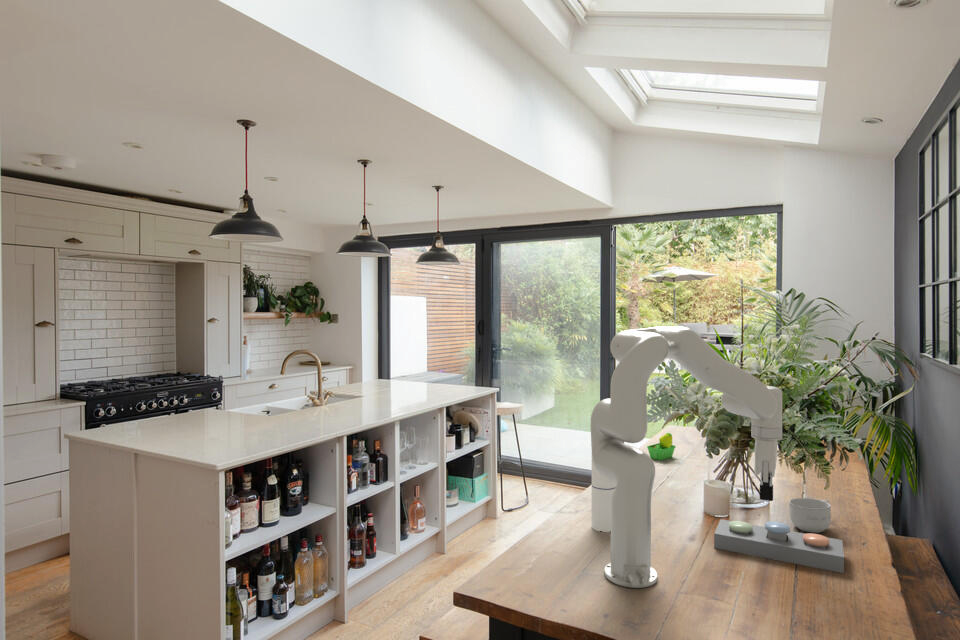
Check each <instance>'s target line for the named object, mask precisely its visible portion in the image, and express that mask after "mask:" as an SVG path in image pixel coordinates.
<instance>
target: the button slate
mask: <svg viewBox="0 0 960 640" xmlns="http://www.w3.org/2000/svg"><path fill="white" fill-rule="evenodd" d="M764 527H765V529H766V530H768V539H774V540H780V541H785V542H787V533H789V532H790V531H791V527H790V525H788V524H786V523H783V522H779V521H766V522H764Z"/></svg>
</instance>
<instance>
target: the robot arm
mask: <svg viewBox="0 0 960 640" xmlns="http://www.w3.org/2000/svg"><path fill="white" fill-rule="evenodd" d="M610 353H611V355H612V356H613V358H614V359H615V360H616V361H617V362H618V363H617V366H616V367H615V369H614V370H613V373H612V375H611V379H610V395H609V396H610V398H609V397H608V398H604V399H601V400H600V401H599V402H597V403H596V404H595V406H594V407H593V409H592V412H591V415H590V441H591V443H590V444H591V460H592V459H593V464H594V466H595V468H596V470H597V471H598V472H599V473H600V474H602V475H603V476H605V477H607V478H609V479H611V480H613V481H615V482H616V487H615V490H614V492H613V495H612V498H611V532H610V562H608V563H607V564H606V565H605V566H604V568H603V574H604V576H605V578H607V580H609V581H610V582H611V583H613V584H614V585H615V584H616V585H618V586H621V587H626V588H629V589H630V588H633V589H643V588H647V587H651V586H653V585H655V584H656V583H657V581H658V572H657V571H656V570H655V568H653V567H652V563H651V562H652V557H651V556H652V494H653V486H654V484H655V483H654V482H655V477H656V466H655V462H654V459H653V458H651V457H650V454H649V453H646V452H645V451H643V450H641V449H639V448H637V447H634V446H631V445H629V444H637V443H640V442H641V441H643V440H644V439H645V438H646V436H647V433H648V405H647V403H648V402H647V392H648V391H647V390H648V388H647V387H648V383H649V380H650V378H651V375H653V373H654V371H655V370H656V369H657V368H658V367H659V366H660V365H661V364H663V362H665V360H666V359H670V360H674V361H675V362H676V363H678V365H680V366H681V367H682V368H684V370H686V372H687V373H689V374H690V375H691V376H692V377H693V378H694V379H695V380H696V381H697V382H698V383H700V384H702V385H703V386H705V387H708V388H710V389H712V390H715V391H718V392H721V393H722V394H721V399H720V400H721V405H722V407H723V408H724V409H725V410H726V411H727V412H728V413H731V414H734V415H738V416H742V417H747V418H750V419H751V420H750V424H751V427H750V428H751V429H750V431H751V432H750V433H751V436H750V437H751V438H753V439H754V440H755V442H754V469H753V470H754V476H759V475H760V483H759V500H762V501H769V502H773V501H774V484H773V477H775V475H776V469H777V468H776V467H777V460H778V459H777V457H778V441H781V440H782V439H783V391H782V390H781V388H780V387H777V386H772V385H771V386H770V385H765V384H764V383H763V382H762V381H761V380H759V379H758V378H757V377H756V376H754V375H753V374H752V373H749V372H748V371H746V370H744V369H742V368H740V367H739V366H737V365H736V364H733V363H732V362H729V361H728V360H726V359H724V358H723V357H722V356H721V355H720V354H719V353H718V352H717V351H716V350H715V349H714V348H713V347H711V345H709V343H707V341H706V340H704V339H703V338H702V337H701V336H700V335H699V334H698V333H697V332H696V331H694V329H692V328H689V327H685V326H670V325H662V326H661V325H659V326H654V327H647V328H646V327H645V328H644V327H643V328H635V329H626V330H622V331H620V332H618V333H616V334H615V335H614V336H613V337H612V340H611V341H610ZM625 443H628V444H625Z"/></svg>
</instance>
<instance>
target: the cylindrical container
mask: <svg viewBox="0 0 960 640" xmlns="http://www.w3.org/2000/svg"><path fill="white" fill-rule="evenodd" d="M615 487H616V482H615V481H613V480H611V479H609V478H607V477H605V476H603V475H602V474H600V473H599V472H598V471H597V470H596V468H595V466H594V464H593V459H592V458H591V528H592V530H594V531H596V532H600V531H602V532H601V533H611V532H610V531H611V498H612V495H613V492H614V490H615Z"/></svg>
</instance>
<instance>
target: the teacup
mask: <svg viewBox="0 0 960 640" xmlns="http://www.w3.org/2000/svg"><path fill="white" fill-rule="evenodd" d="M788 503H789V516H790V521H791V522H792V524H793V525H794V526H796V528H798V529H799V530H800V531H802V532H807V533H813V534H819V533H822V532H824V531H826V530H828V529H829V527H831V523H832V514H831V508H832V507H831V506H832V504H830V502H829V501H828V500H827V499H817V498H812V497H797V498H796V497H795V498H791V499H789V500H788Z"/></svg>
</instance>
